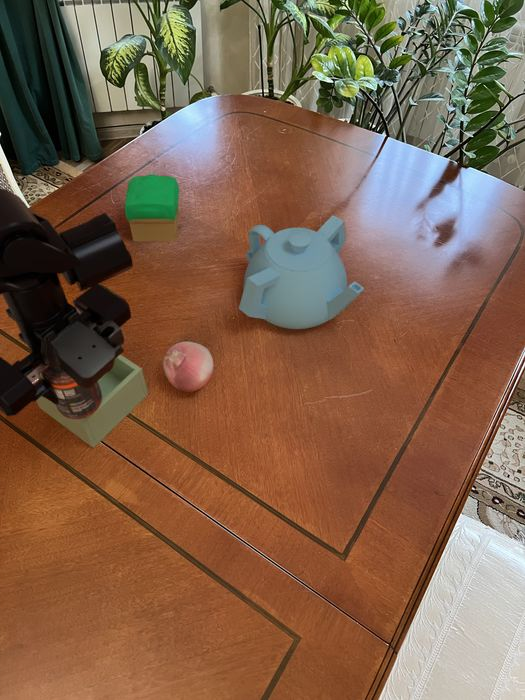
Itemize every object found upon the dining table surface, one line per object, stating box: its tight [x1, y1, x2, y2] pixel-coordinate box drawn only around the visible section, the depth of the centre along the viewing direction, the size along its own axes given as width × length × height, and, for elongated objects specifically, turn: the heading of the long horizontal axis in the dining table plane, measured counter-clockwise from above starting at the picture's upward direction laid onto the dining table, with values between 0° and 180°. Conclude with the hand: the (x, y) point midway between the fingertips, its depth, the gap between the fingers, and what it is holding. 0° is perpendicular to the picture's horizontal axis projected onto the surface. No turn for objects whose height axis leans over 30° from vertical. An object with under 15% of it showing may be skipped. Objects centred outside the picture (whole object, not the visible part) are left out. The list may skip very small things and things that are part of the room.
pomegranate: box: [162, 341, 215, 393], centre depth 87 cm, size 8×8×7 cm
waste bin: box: [35, 354, 149, 449], centre depth 84 cm, size 12×12×7 cm
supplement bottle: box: [41, 365, 102, 419], centre depth 72 cm, size 6×6×11 cm
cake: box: [124, 173, 180, 242], centre depth 108 cm, size 10×11×10 cm
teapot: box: [238, 214, 365, 330], centre depth 96 cm, size 19×19×14 cm
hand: (74, 385), depth 73 cm, fingers closed on supplement bottle, 6 cm apart
